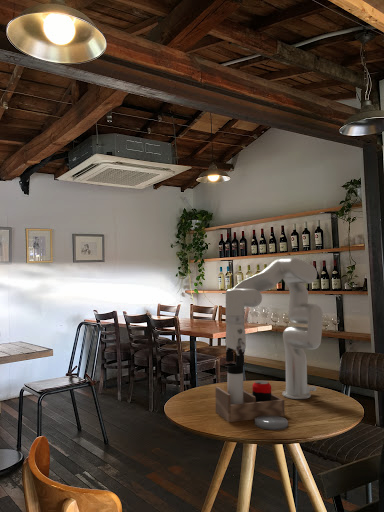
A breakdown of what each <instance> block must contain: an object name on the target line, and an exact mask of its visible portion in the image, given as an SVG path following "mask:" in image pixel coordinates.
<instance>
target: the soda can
mask: <svg viewBox="0 0 384 512" xmlns="http://www.w3.org/2000/svg"><path fill="white" fill-rule="evenodd" d="M251 390H252V391H251V392H252V393H251V394H252V395H253V396H255V397H256V402H263V401H271V393H272V385H271V383H270V382H269V381H267V380H255V381H254V382H253V383H252V387H251Z"/></svg>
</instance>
